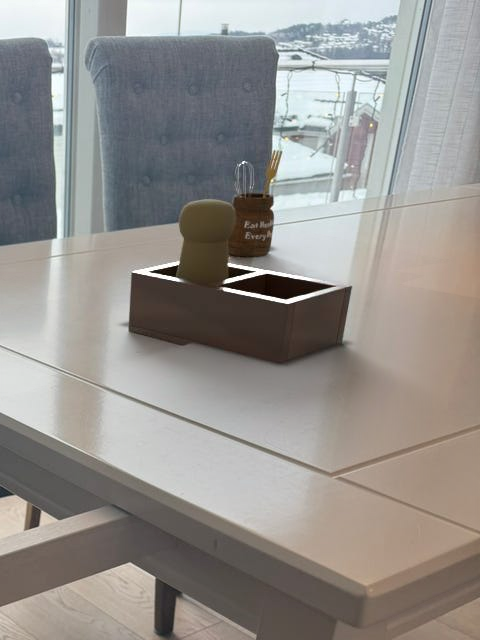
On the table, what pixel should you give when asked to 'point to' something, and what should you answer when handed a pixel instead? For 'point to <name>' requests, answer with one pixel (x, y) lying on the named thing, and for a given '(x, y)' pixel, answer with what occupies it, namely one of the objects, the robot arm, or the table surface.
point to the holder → (240, 311)
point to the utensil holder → (253, 217)
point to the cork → (205, 240)
